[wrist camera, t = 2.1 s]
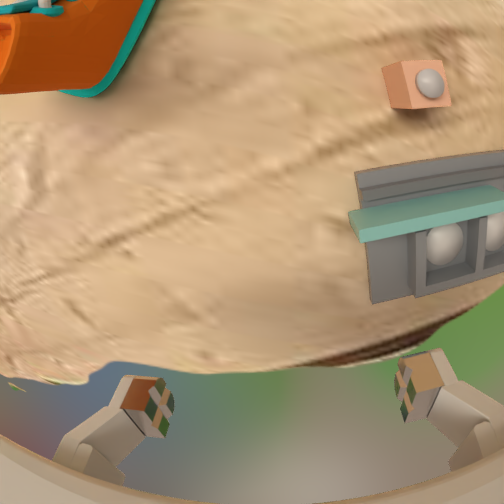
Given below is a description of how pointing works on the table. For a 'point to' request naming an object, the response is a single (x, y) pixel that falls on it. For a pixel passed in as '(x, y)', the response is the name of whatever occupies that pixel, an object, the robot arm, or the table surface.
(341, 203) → the table surface
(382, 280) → the housing
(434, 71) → the peach button block
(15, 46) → the toy shoe
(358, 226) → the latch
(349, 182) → the table surface
